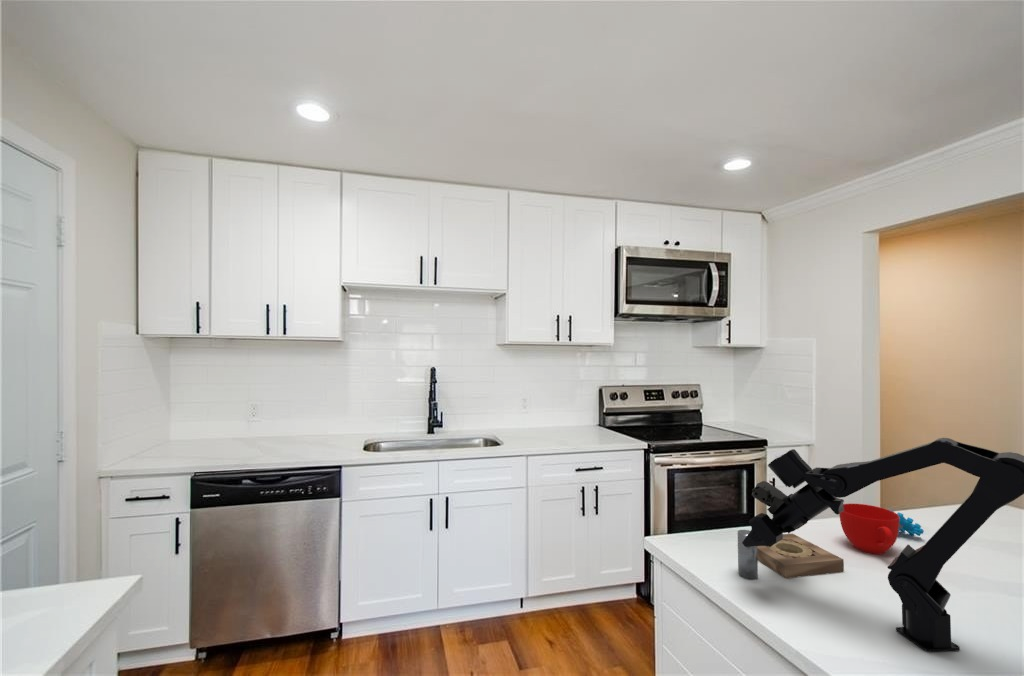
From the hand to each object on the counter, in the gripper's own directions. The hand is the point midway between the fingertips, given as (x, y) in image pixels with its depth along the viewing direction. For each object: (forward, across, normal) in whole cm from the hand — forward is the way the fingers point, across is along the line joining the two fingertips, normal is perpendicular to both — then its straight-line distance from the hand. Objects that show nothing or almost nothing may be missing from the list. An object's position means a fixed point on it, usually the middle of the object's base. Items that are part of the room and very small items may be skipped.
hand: (752, 539), depth 110 cm
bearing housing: (+5, -16, +8) cm, 19 cm away
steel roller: (+7, 0, +6) cm, 9 cm away
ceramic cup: (-4, -38, +16) cm, 42 cm away
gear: (-5, -58, +18) cm, 60 cm away
